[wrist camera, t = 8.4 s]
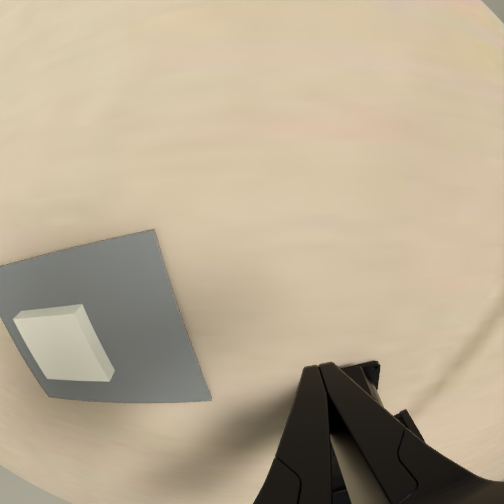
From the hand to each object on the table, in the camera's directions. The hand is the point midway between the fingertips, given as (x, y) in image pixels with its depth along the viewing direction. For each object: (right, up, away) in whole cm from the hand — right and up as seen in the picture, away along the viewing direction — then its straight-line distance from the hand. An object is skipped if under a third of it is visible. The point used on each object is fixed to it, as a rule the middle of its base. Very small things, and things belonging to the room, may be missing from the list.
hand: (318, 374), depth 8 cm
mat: (-17, -4, +15) cm, 23 cm away
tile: (-15, -4, +14) cm, 20 cm away
